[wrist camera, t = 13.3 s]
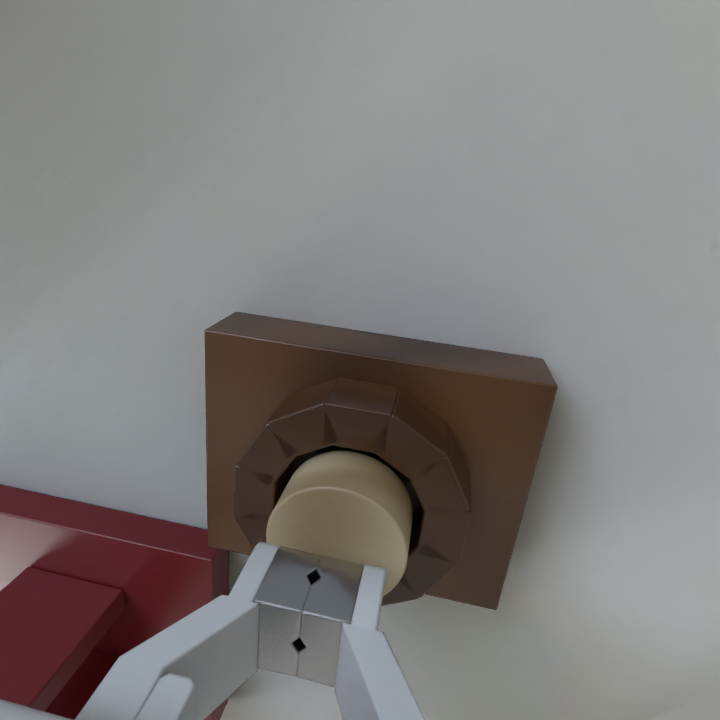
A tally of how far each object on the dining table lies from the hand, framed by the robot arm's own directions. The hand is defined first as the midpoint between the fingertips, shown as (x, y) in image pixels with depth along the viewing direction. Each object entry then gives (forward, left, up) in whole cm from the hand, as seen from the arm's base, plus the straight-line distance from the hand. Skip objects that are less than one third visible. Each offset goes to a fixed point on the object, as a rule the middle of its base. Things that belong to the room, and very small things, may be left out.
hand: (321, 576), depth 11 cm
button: (0, 0, -3) cm, 3 cm away
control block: (0, 0, -6) cm, 6 cm away
